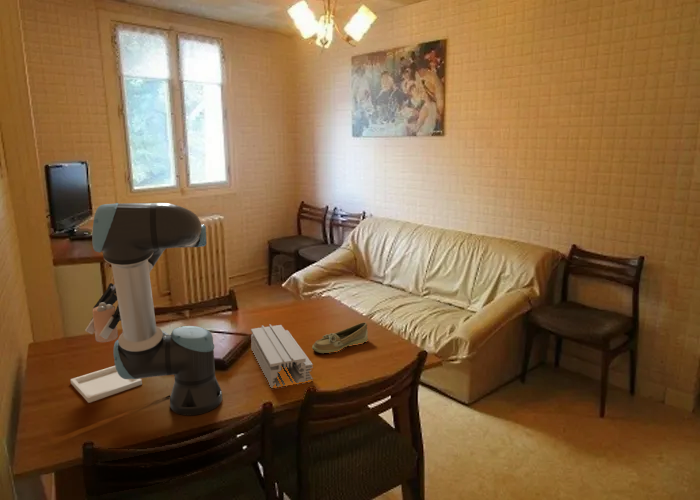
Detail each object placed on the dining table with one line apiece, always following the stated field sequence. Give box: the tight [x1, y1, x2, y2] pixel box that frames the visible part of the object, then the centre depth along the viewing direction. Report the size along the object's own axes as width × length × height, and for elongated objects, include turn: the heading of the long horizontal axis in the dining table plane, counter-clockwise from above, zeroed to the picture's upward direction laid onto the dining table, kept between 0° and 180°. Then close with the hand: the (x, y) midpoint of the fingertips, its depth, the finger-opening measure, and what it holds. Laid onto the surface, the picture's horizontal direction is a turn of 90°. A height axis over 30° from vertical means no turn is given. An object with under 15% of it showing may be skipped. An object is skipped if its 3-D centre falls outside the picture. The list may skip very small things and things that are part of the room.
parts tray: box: [70, 365, 143, 404], centre depth 154 cm, size 16×16×2 cm
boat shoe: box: [312, 321, 369, 354], centre depth 188 cm, size 10×24×8 cm, turn 132°
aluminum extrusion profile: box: [250, 323, 314, 389], centre depth 171 cm, size 14×31×10 cm, turn 23°
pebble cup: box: [92, 302, 119, 343], centre depth 153 cm, size 6×6×12 cm
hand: (95, 334), depth 151 cm, fingers closed on pebble cup, 6 cm apart
